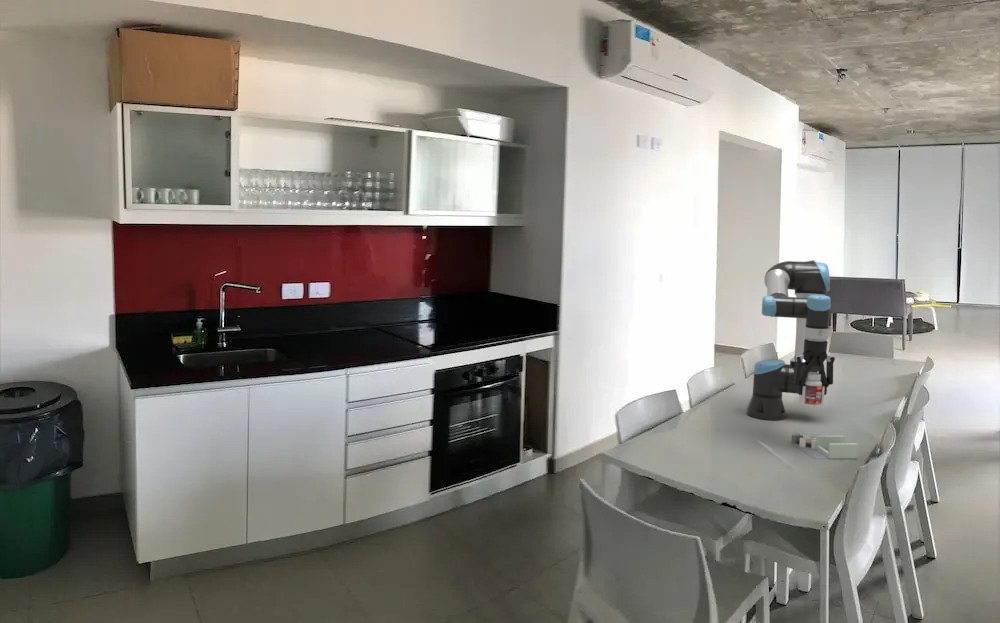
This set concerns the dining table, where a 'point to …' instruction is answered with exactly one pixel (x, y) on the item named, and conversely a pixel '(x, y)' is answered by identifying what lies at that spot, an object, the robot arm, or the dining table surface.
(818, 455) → the board
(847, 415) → the dining table surface
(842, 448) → the end holder
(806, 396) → the pill bottle
